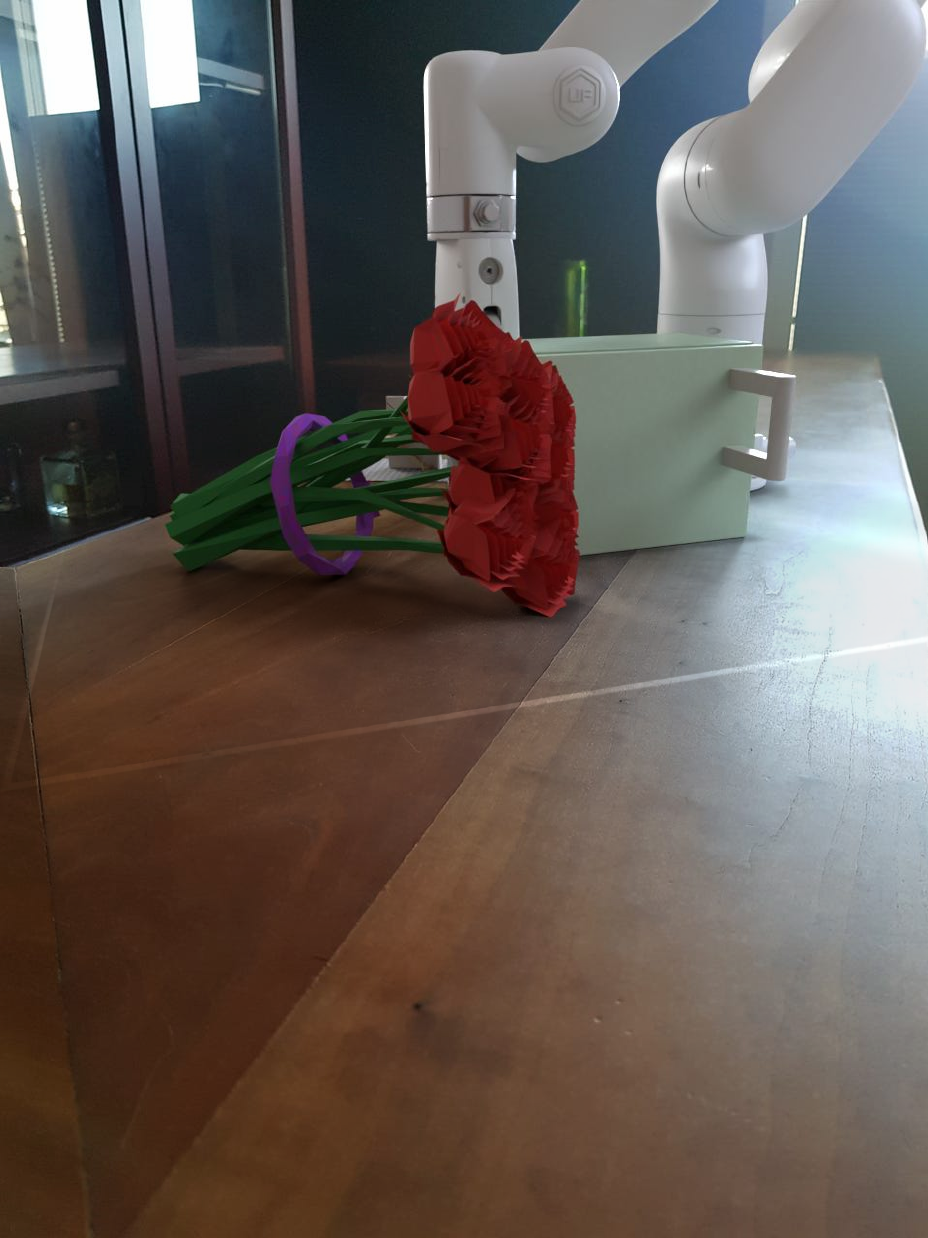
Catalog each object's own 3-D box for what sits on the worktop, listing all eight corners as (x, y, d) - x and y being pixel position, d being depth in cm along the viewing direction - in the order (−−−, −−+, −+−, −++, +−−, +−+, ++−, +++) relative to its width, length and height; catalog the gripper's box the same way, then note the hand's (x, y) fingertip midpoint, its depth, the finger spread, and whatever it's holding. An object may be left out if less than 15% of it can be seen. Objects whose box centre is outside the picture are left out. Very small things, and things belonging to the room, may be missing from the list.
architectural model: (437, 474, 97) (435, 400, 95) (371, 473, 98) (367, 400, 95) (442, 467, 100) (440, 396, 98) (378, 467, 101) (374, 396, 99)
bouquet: (262, 607, 78) (615, 564, 67) (132, 686, 64) (553, 650, 52) (192, 368, 73) (562, 274, 61) (33, 395, 59) (477, 280, 47)
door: (796, 558, 68) (819, 351, 63) (571, 586, 63) (577, 364, 58) (738, 533, 74) (755, 344, 69) (530, 557, 69) (532, 354, 64)
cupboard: (736, 534, 74) (754, 341, 69) (529, 558, 69) (530, 352, 64) (666, 503, 84) (677, 332, 79) (479, 522, 79) (478, 340, 74)
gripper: (552, 217, 73) (548, 449, 80) (479, 225, 89) (481, 419, 95) (461, 217, 71) (464, 455, 78) (402, 225, 87) (409, 424, 93)
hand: (473, 433), depth 86 cm, fingers open, 5 cm apart
